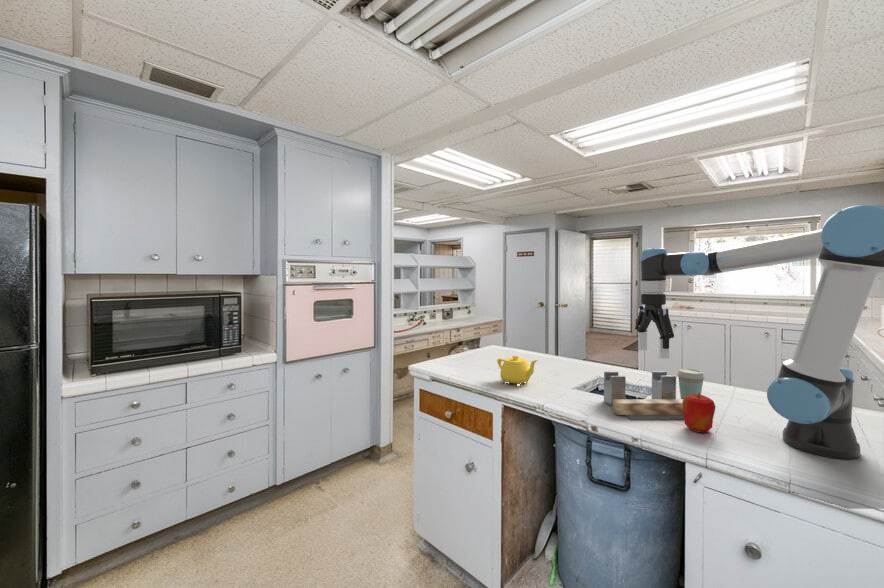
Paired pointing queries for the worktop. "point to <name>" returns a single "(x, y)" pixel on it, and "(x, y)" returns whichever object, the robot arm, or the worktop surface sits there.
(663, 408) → the rail
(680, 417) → the mat
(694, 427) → the apple
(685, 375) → the coffee cup
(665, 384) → the rack
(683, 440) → the worktop surface
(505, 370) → the teapot
